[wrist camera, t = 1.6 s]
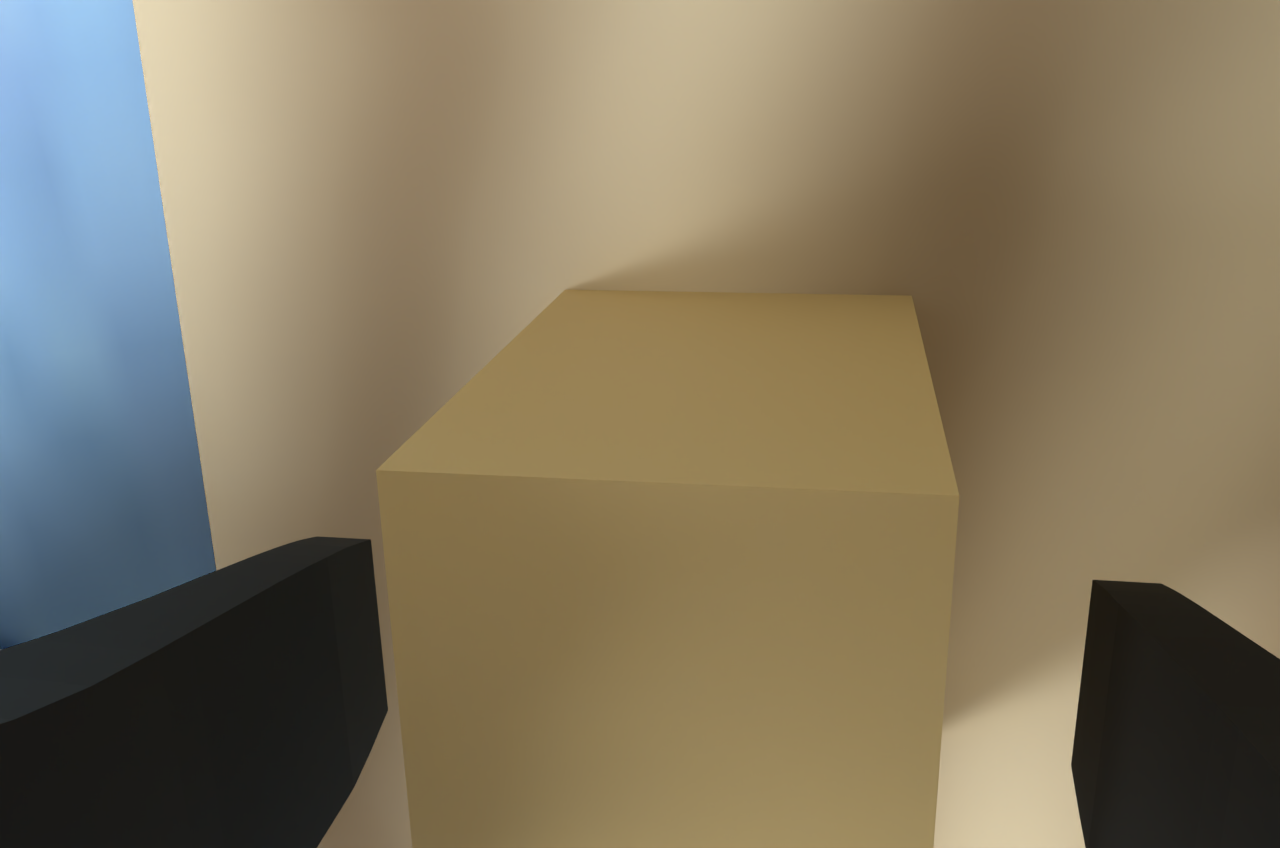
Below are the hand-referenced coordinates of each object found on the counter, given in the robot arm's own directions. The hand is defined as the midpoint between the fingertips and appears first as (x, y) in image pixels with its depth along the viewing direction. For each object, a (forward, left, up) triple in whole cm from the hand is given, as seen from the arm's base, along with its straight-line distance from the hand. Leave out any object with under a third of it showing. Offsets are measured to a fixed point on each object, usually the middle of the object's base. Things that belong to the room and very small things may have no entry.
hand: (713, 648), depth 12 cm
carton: (0, 0, -3) cm, 3 cm away
